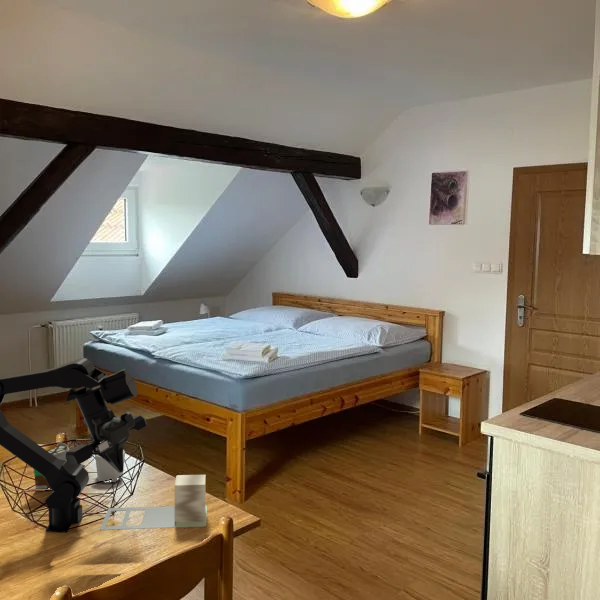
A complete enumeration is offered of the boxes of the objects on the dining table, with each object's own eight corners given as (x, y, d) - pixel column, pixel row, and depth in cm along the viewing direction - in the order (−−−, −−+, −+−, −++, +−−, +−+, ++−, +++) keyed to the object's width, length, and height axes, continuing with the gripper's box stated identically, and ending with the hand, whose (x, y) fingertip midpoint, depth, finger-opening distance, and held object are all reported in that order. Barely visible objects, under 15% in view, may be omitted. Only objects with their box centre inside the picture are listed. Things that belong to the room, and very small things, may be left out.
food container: (53, 496, 159) (52, 459, 158) (32, 493, 160) (31, 456, 159) (79, 477, 171) (79, 443, 170) (59, 475, 172) (59, 441, 171)
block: (174, 522, 143) (174, 485, 142) (176, 510, 149) (176, 475, 148) (204, 521, 144) (204, 484, 143) (205, 509, 150) (205, 474, 149)
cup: (86, 476, 172) (85, 448, 171) (112, 469, 178) (112, 442, 177) (103, 488, 164) (102, 460, 163) (130, 481, 170) (130, 453, 169)
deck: (99, 536, 139) (99, 529, 139) (108, 514, 150) (108, 508, 150) (205, 532, 142) (206, 526, 142) (207, 510, 153) (207, 505, 153)
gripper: (74, 429, 128) (102, 495, 130) (146, 391, 141) (171, 452, 143) (52, 430, 136) (79, 493, 138) (123, 394, 149) (147, 452, 151)
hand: (121, 472), depth 142 cm, fingers closed
